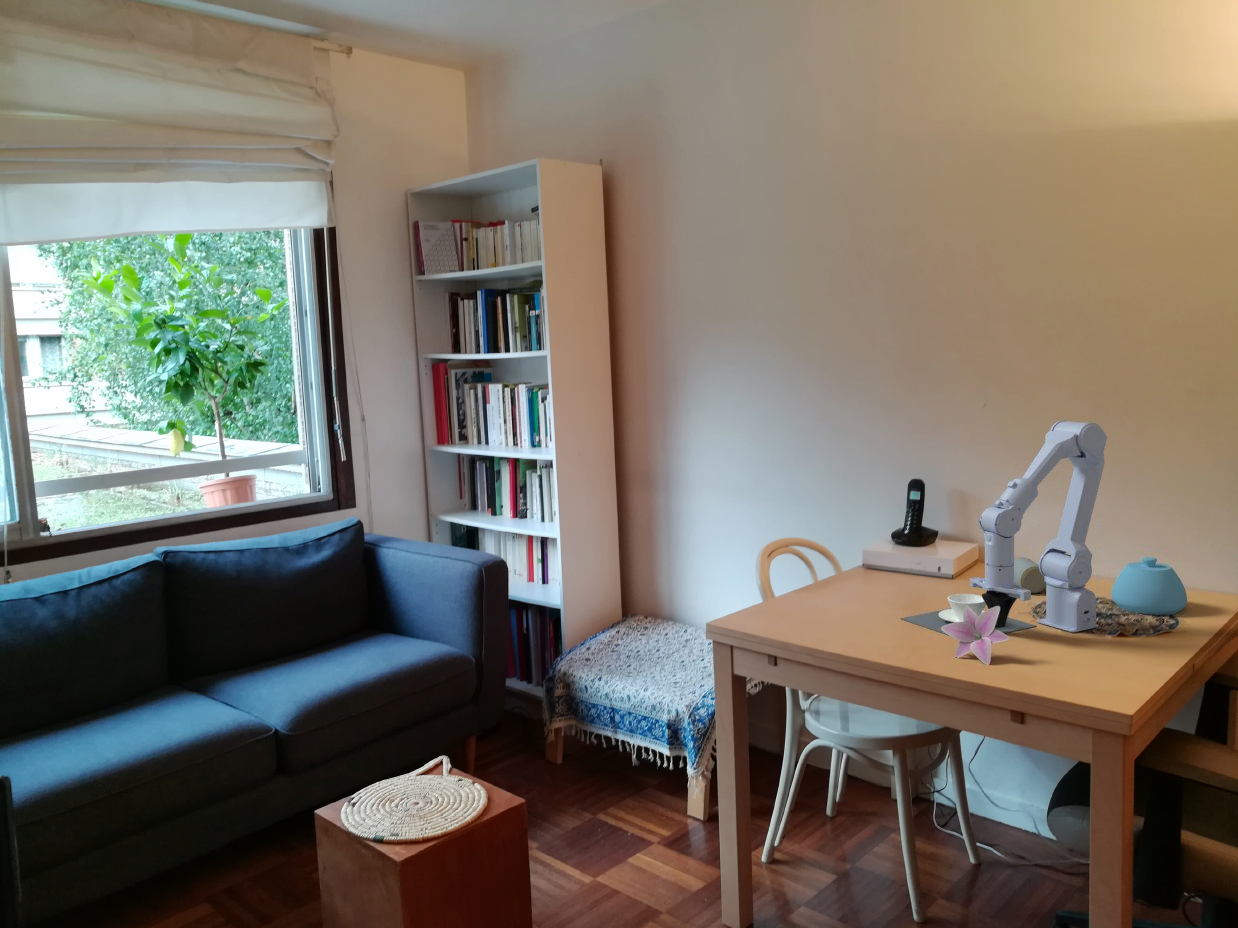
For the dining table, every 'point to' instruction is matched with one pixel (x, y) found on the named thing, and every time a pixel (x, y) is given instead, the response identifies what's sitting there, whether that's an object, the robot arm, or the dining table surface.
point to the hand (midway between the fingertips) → (999, 626)
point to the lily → (976, 633)
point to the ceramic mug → (1028, 575)
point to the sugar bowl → (1149, 588)
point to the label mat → (937, 622)
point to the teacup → (962, 606)
